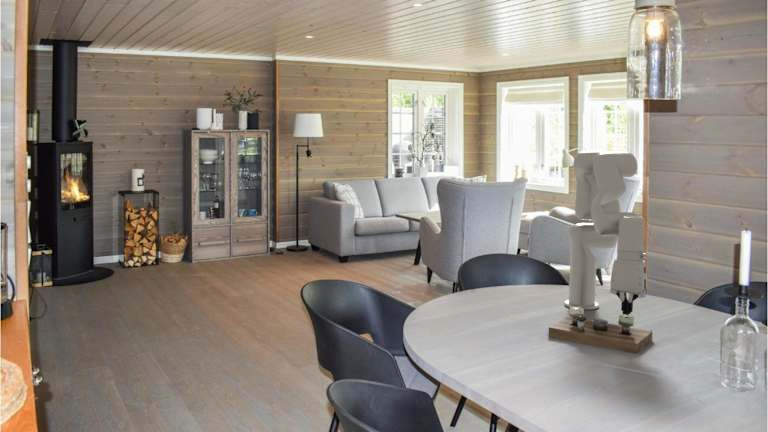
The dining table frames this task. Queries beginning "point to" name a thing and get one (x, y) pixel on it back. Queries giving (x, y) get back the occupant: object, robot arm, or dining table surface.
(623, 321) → the knob sage
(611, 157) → the robot arm
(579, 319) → the dial post
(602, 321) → the knob charcoal
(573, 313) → the knob cream
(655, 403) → the dining table surface
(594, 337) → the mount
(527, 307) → the dining table surface
